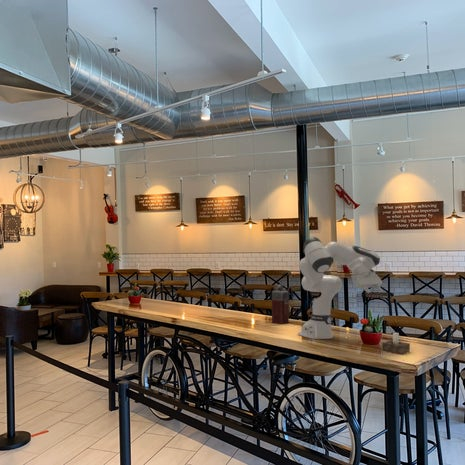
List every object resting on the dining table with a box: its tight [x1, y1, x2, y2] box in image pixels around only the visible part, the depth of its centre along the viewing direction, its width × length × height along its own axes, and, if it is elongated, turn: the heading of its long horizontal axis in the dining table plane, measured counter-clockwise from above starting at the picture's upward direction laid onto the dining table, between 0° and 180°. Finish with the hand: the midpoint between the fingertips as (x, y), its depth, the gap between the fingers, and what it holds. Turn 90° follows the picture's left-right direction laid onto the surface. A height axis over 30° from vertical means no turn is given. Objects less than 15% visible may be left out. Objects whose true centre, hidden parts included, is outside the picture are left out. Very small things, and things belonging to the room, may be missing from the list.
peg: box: [392, 332, 400, 344], centre depth 245 cm, size 3×3×10 cm
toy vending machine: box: [271, 284, 290, 325], centre depth 329 cm, size 9×11×28 cm
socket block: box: [381, 339, 411, 356], centre depth 245 cm, size 11×10×4 cm
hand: (374, 292), depth 259 cm, fingers open, 8 cm apart
